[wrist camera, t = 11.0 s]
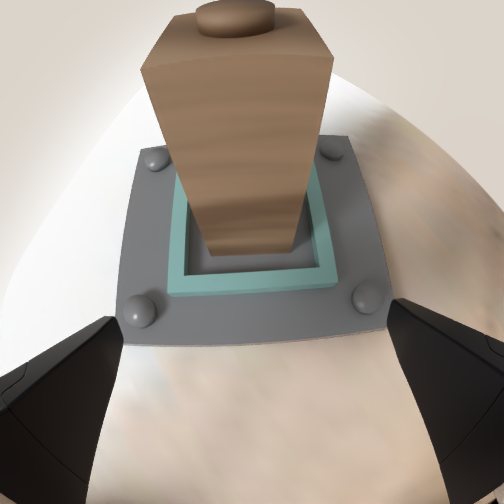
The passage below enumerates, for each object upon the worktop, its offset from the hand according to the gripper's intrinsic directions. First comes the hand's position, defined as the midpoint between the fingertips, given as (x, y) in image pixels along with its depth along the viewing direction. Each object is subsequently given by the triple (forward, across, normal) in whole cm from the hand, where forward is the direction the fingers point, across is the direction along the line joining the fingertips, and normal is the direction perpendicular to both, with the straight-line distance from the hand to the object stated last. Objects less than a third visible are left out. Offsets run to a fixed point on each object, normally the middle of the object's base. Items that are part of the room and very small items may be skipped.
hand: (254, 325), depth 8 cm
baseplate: (+12, 0, +1) cm, 12 cm away
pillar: (+11, 0, 0) cm, 11 cm away
